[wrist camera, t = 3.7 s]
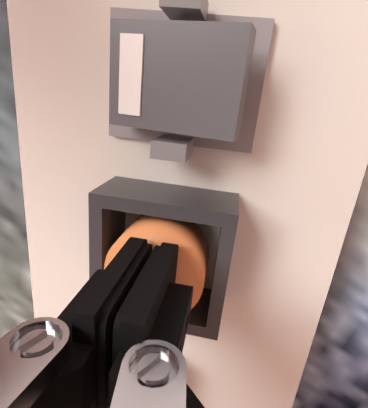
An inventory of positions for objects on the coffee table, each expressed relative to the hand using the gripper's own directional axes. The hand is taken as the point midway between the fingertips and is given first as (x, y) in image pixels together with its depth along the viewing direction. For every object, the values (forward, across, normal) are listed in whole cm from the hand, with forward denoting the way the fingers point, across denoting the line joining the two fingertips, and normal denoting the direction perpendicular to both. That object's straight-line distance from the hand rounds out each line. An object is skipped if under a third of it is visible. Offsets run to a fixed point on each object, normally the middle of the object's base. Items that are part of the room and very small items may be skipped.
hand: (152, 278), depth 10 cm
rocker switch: (+2, 0, -6) cm, 7 cm away
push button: (+2, 0, 0) cm, 2 cm away
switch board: (+6, 0, 0) cm, 6 cm away
